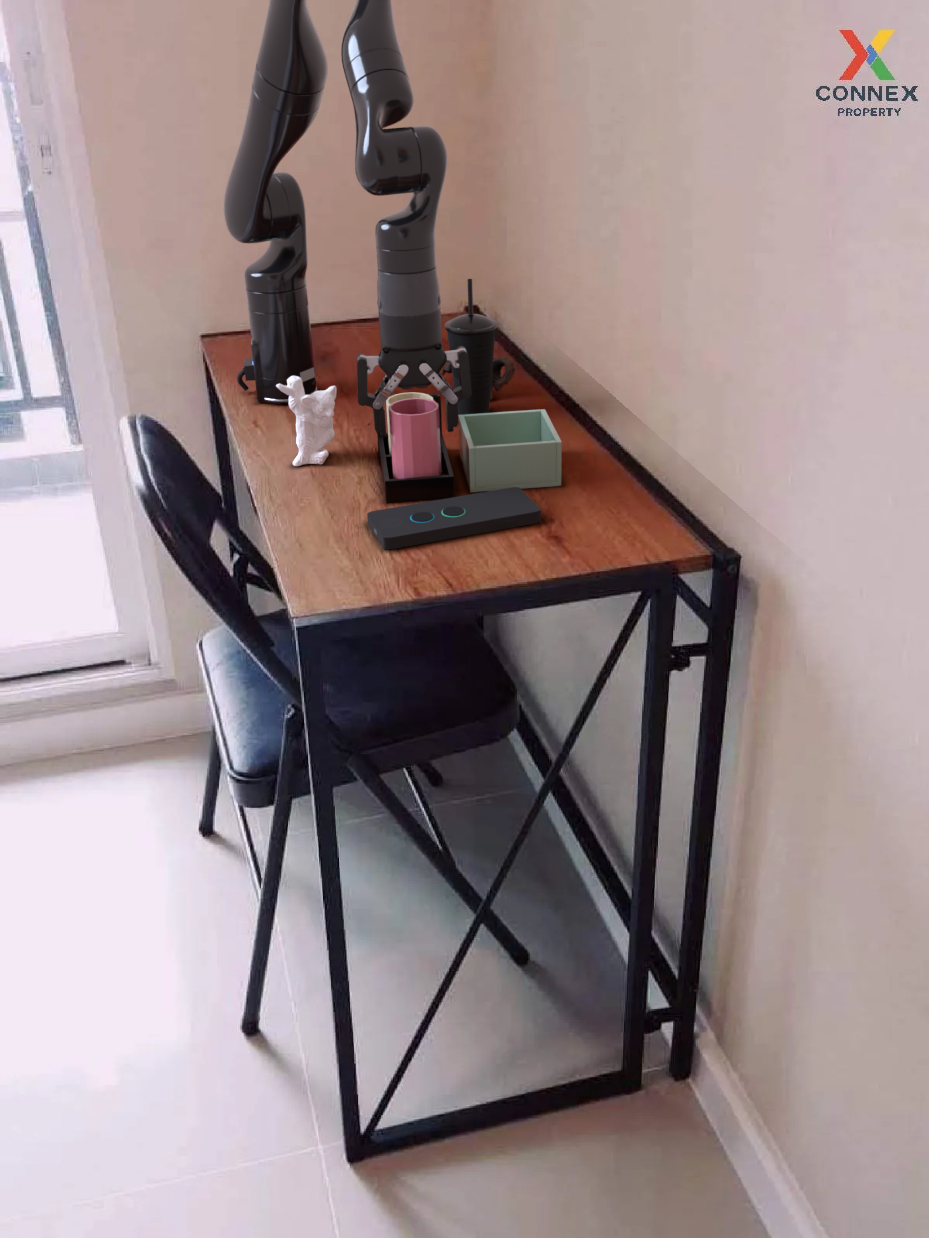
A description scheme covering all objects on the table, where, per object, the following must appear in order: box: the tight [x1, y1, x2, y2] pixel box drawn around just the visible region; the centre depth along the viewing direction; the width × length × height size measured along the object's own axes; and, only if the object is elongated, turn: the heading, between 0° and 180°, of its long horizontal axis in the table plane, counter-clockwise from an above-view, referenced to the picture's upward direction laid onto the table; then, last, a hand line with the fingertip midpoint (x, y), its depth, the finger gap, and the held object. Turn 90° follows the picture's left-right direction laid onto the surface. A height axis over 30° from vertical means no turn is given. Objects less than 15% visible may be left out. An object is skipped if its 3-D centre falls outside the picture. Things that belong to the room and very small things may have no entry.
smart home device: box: [366, 487, 542, 550], centre depth 144 cm, size 8×2×20 cm
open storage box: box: [458, 408, 563, 493], centre depth 157 cm, size 12×12×6 cm
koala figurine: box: [276, 376, 338, 467], centre depth 161 cm, size 8×7×12 cm
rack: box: [376, 393, 456, 504], centre depth 156 cm, size 9×17×8 cm, turn 7°
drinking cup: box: [444, 278, 498, 415], centre depth 173 cm, size 8×8×20 cm
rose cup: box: [388, 398, 443, 479], centre depth 152 cm, size 6×6×11 cm
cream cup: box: [385, 391, 435, 455], centre depth 159 cm, size 6×6×9 cm
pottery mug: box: [441, 356, 516, 401], centre depth 185 cm, size 12×10×8 cm
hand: (416, 432), depth 150 cm, fingers open, 8 cm apart
